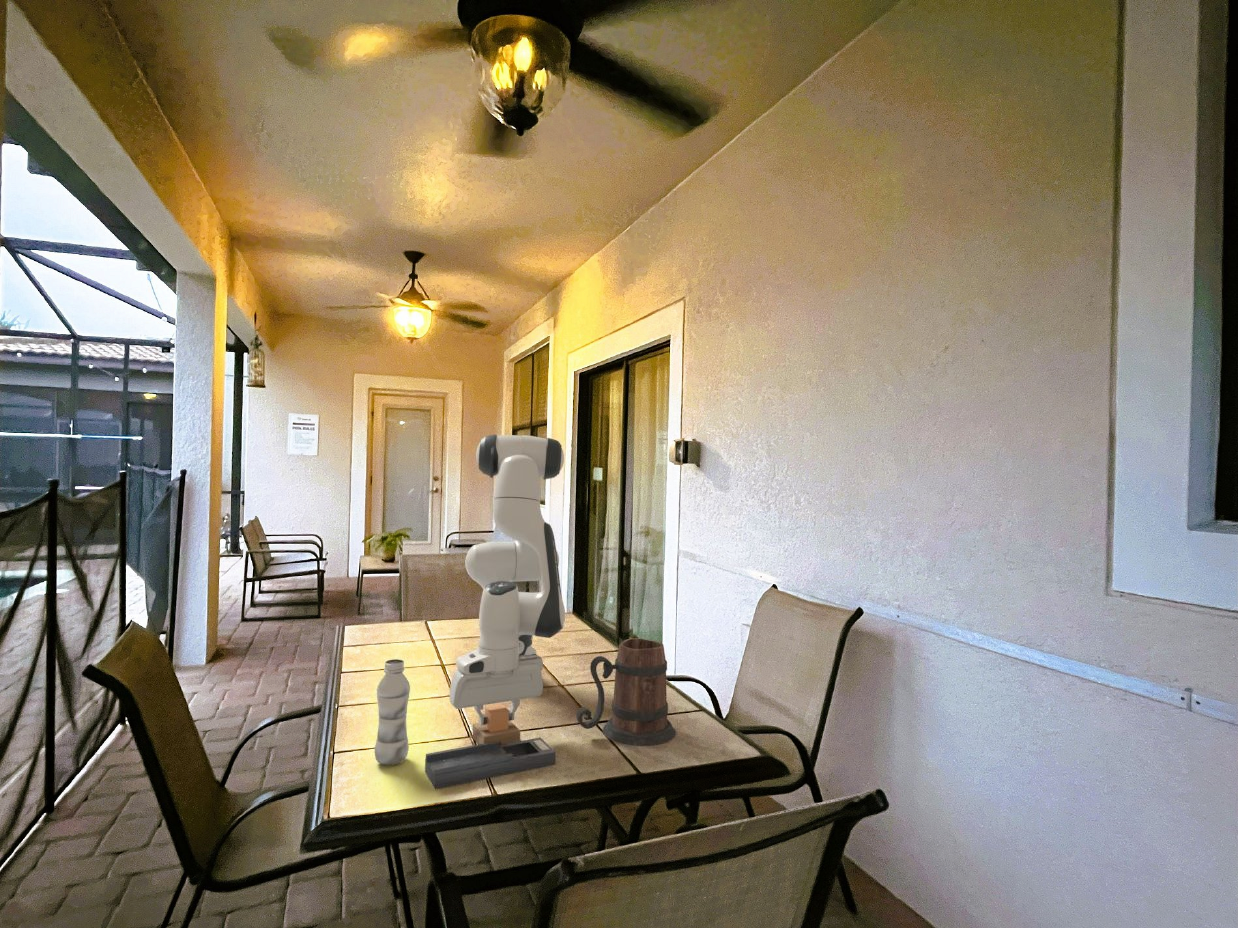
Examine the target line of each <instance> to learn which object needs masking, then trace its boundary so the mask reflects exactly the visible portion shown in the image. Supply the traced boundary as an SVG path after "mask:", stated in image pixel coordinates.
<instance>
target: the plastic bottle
mask: <svg viewBox="0 0 1238 928" xmlns="http://www.w3.org/2000/svg"><path fill="white" fill-rule="evenodd" d="M404 666H405V661H404V660H403V659H401V658H400V659H399V658H397V659H396V658H393V659H388V660H386V661H385V662H384V668H383V672H384V673H385V674H384V675H383V677H382V678H381V679H380V681H379V683H378V685H377V688H376V698H377V707H378V708H377V709H378V728H377V737H376V741H375V746H374V756H375V757H374V758H375V760H376V761H377V763H378V764H379V765H382V766H395V765H398V764H400V763H402V762H404V761H405V759H407V756H408V753H409V749H410V748H409V747H410V746H409V739H408V732H407V730H408V729H407V727H408V726H407V714H408V704H409V703H408V702H409V698H410V693H411V692H410V691H411V685H410V682H409V680H408V678H407V677H406V676H405V674H404V673H403V672H404V671H405V667H404Z"/></svg>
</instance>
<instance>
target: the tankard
mask: <svg viewBox="0 0 1238 928" xmlns="http://www.w3.org/2000/svg"><path fill="white" fill-rule="evenodd" d="M600 663H603V664H602V667H603V668H602V670H603V673H602V678H604V679H605V680H606V679H609V677H610V676H611V675H612V673H614V670H615V675H614V687H613V688H614V689H613V699H612V703H611V711H612V712H611V713H612V714H611V717H610V718H608V720H607V723H605V725H603V727H602V734H603V735H604V736H605V737H606V738H608V740H610V741H613V742H615V743H617V744H621V745H624V746H625V745H626V746H630V747H631V746H632V747H653V746H655V747H656V746H660V745H663V744H667V743H669V742H671V741H673V739H675V737H676V736H677V731H676V729H675V727H673V726H672V725H673V724H672V723H671V721H669V719H668V714H669V713H668V712H669V703H668V700H667V671H668V661H667V659H666V654H665V648H664V644H663V643H662V642H660V641H657V640H651V639H646V638H645V639H644V638H638V637H636V638H628V639H625V640H623V641H621V642H620V643H619V645H618V651H617V655H616V658H615V660H614V664H613V663H612V662H611V661H610V660H609V659H608V658H606V657H605V656H602V655H600V656H599V655H598V656H596V657H594V658H593V659H592V660H591V662H590V666H589V667H590V668H589V669H590V674H591V677H592V679H593V681H594V683H595V685H596V688H597V695H598V696H597V697H598V698H597V705H596V710H595V712H594V714H593V717H592V712H591V710H590V709H589V708H588V707H586V706H584V707H580V708H579V709H578V710H577V711H576V721H577V722H578V724H579V725H580V726H581V727H582V728H584V729H587V730H590V729H593V728H595V727H596V726H597V724H599V722H600V721H601V718H602V716H603V712H604V708H605V691H604V690H605V689H604V686H603V684H602V682H601V680H600V678H599V676H598V672H597V671H598V670H597V666H598V665H599V664H600ZM585 714H586V716H584V715H585ZM583 716H584V717H583ZM583 718H584V720H585V721H583Z"/></svg>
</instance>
